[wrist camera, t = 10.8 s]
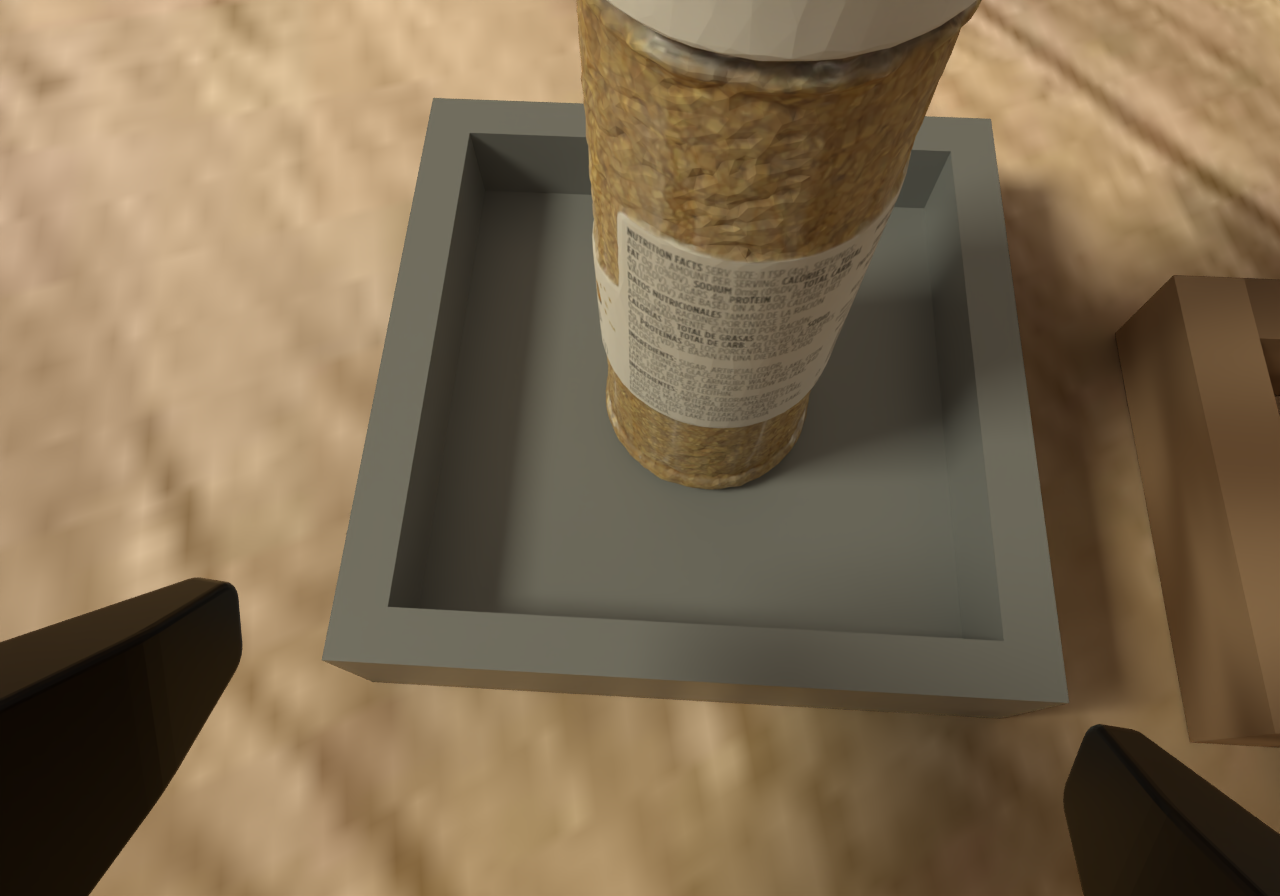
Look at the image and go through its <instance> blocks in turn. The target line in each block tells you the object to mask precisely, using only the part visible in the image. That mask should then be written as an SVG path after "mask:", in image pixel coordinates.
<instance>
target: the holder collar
mask: <svg viewBox="0 0 1280 896" xmlns="http://www.w3.org/2000/svg"><path fill="white" fill-rule="evenodd" d="M1115 336H1116V342H1117V347H1118V353H1119V358H1120V364H1121V369H1122V374H1123V380H1124V385H1125V391H1126V396H1127V402H1128V407H1129V412H1130V418H1131V423H1132V429H1133V434H1134V440H1135V445H1136V450H1137V456H1138V461H1139V467H1140V472H1141V478H1142V483H1143V489H1144V494H1145V499H1146V505H1147V510H1148V516H1149V521H1150V527H1151V532H1152V537H1153V543H1154V548H1155V554H1156V559H1157V565H1158V570H1159V576H1160V581H1161V586H1162V592H1163V597H1164V603H1165V608H1166V614H1167V619H1168V624H1169V630H1170V635H1171V641H1172V646H1173V652H1174V657H1175V662H1176V668H1177V673H1178V679H1179V684H1180V690H1181V695H1182V701H1183V706H1184V711H1185V717H1186V722H1187V728H1188V733H1189V739H1190V742H1195V743H1212V744H1229V745H1246V746H1263V747H1280V415H1279V412H1278V408H1277V404H1276V400H1275V396H1274V395H1280V280H1276V279H1252V278H1228V277H1205V276H1181V275H1173V276H1172V277H1171V278H1170V279H1169V280H1168V281H1167V282H1166V283H1165V284H1164V285H1163V286H1162V287H1161V288H1160V289H1159V290H1158V291H1157V292H1156V293H1155V294H1154V295H1153V296H1152V297H1151V298H1150V299H1149V300H1148V301H1147V302H1146V303H1145V304H1144V305H1143V306H1142V307H1141V308H1140V309H1139V310H1138V311H1137V312H1136V313H1135V314H1134V315H1133V316H1132V317H1131V318H1130V319H1129V320H1128V321H1127V322H1126V323H1125V324H1124V325H1123V326H1122V327H1121V328H1120V329H1119V330H1118V331H1117V332H1116V333H1115Z"/></svg>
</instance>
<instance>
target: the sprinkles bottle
mask: <svg viewBox="0 0 1280 896" xmlns="http://www.w3.org/2000/svg"><path fill="white" fill-rule="evenodd" d="M980 2H981V0H577V14H578V23H579V26H578V34H579V45H580V56H581V66H582V75H581V82H582V88H583V94H584V109H585V116H586V139H587V143H588V150H589V176H590V181H591V193H592V200H593V204H592V205H593V217H594V222H593V234H592V240H593V256H594V266H595V276H596V288H597V299H598V309H599V317H600V327H601V334H602V341H603V345H604V348H605V351H606V354H607V361H608V377H607V385H606V407H607V413H608V416H609V419H610V422H611V424H612V426H613V429H614V431H615V433H616V435H617V437H618V439H619V441H620V442H621V443H622V444H623V445H624V447H625V448H626V449H627V451H628V452H629V454H630V455H631V456H632V457H633V458H634V459H635V460H637V461H638V462H639V463H640V464H641V465H642V466H643V467H644V468H646V469H648V470H649V471H651V472H652V473H653V474H654V475H656V476H657V477H659V478H660V479H662V480H665V481H669V482H673V483H677V484H680V485H684V486H687V487H691V488H700V489H711V490H712V489H723V488H728V487H736V486H742V485H743V484H745V483H747V482H749V481H752V480H754V479H756V478H759V477H761V476H762V475H764V474H765V473H767V472H768V471H769V470H771V469H772V468H773V467H775V466H776V465H777V464H779V463H780V461H781V460H782V459H783V458H784V457H785V456H786V455H787V454H788V453H789V452H790V451H791V449H792V448H793V446H794V445H795V443H796V442H797V440H798V438H799V436H800V434H801V431H802V428H803V424H804V421H805V419H806V415H807V407H808V402H809V394H810V391H811V389H812V387H813V386H814V385H815V384H816V382H817V381H818V379H819V377H820V376H821V374H822V372H823V370H824V368H825V367H826V364H827V362H828V360H829V358H830V355H831V353H832V350H833V348H834V346H835V343H836V341H837V339H838V336H839V334H840V332H841V329H842V327H843V325H844V322H845V320H846V318H847V315H848V313H849V310H850V308H851V306H852V303H853V301H854V299H855V296H856V294H857V292H858V289H859V287H860V284H861V282H862V280H863V277H864V275H865V273H866V270H867V268H868V266H869V263H870V261H871V259H872V256H873V254H874V251H875V249H876V247H877V244H878V242H879V240H880V237H881V235H882V233H883V230H884V228H885V226H886V224H887V221H888V219H889V217H890V215H891V212H892V210H893V207H894V205H895V203H896V200H897V198H898V196H899V193H900V190H901V188H902V185H903V182H904V179H905V176H906V173H907V169H908V164H909V160H910V155H911V150H912V148H913V144H914V141H915V137H916V135H917V133H918V131H919V129H920V127H921V125H922V123H923V120H924V117H925V115H926V112H927V110H928V107H929V105H930V102H931V100H932V97H933V95H934V92H935V90H936V87H937V84H938V82H939V79H940V77H941V76H942V74H943V71H944V69H945V67H946V64H947V62H948V60H949V58H950V55H951V53H952V50H953V48H954V45H955V43H956V40H957V38H958V35H959V32H960V29H961V27H962V26H963V25H965V24H966V23H967V22H968V21H969V20H970V19H971V18H972V16H973V15H974V13H975V11H976V10H977V8H978V6H979V4H980Z"/></svg>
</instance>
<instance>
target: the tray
mask: <svg viewBox="0 0 1280 896" xmlns="http://www.w3.org/2000/svg"><path fill="white" fill-rule="evenodd" d="M592 204H593V200H592V193H591V181H590V176H589V150H588V143H587V139H586V116H585V109H584V104H578V103H552V102H525V101H498V100H471V99H445V98H433V102H432V107H431V112H430V117H429V122H428V127H427V132H426V137H425V142H424V147H423V152H422V157H421V162H420V167H419V172H418V177H417V182H416V187H415V192H414V197H413V202H412V208H411V213H410V218H409V223H408V228H407V233H406V238H405V243H404V248H403V253H402V258H401V263H400V268H399V273H398V278H397V283H396V288H395V293H394V298H393V303H392V308H391V313H390V318H389V324H388V329H387V334H386V339H385V344H384V349H383V354H382V359H381V364H380V369H379V374H378V379H377V384H376V389H375V394H374V399H373V404H372V409H371V414H370V419H369V424H368V429H367V435H366V440H365V445H364V450H363V455H362V460H361V465H360V470H359V475H358V480H357V485H356V490H355V495H354V500H353V505H352V510H351V515H350V520H349V525H348V530H347V535H346V540H345V545H344V551H343V556H342V561H341V566H340V571H339V576H338V581H337V586H336V591H335V596H334V601H333V606H332V611H331V616H330V621H329V626H328V631H327V636H326V641H325V646H324V651H323V656H322V660H323V661H325V662H327V663H330V664H332V665H334V666H337V667H339V668H341V669H344V670H346V671H348V672H351V673H353V674H356V675H358V676H360V677H363V678H365V679H367V680H370V681H372V682H383V683H400V684H417V685H434V686H451V687H469V688H486V689H503V690H520V691H538V692H555V693H572V694H589V695H607V696H624V697H641V698H658V699H675V700H693V701H710V702H727V703H744V704H762V705H779V706H796V707H813V708H830V709H848V710H865V711H882V712H899V713H917V714H934V715H951V716H968V717H986V718H1005V717H1010V716H1014V715H1019V714H1023V713H1027V712H1032V711H1036V710H1041V709H1045V708H1049V707H1054V706H1058V705H1063V704H1067V703H1069V698H1068V691H1067V683H1066V676H1065V668H1064V661H1063V653H1062V646H1061V638H1060V631H1059V623H1058V616H1057V608H1056V601H1055V593H1054V586H1053V579H1052V571H1051V564H1050V556H1049V549H1048V541H1047V534H1046V526H1045V519H1044V511H1043V504H1042V496H1041V489H1040V482H1039V474H1038V467H1037V459H1036V452H1035V444H1034V437H1033V429H1032V422H1031V414H1030V407H1029V399H1028V392H1027V384H1026V377H1025V370H1024V362H1023V355H1022V347H1021V340H1020V332H1019V325H1018V317H1017V310H1016V302H1015V295H1014V287H1013V280H1012V273H1011V265H1010V258H1009V250H1008V243H1007V235H1006V228H1005V220H1004V213H1003V205H1002V198H1001V190H1000V183H999V175H998V168H997V161H996V153H995V146H994V138H993V131H992V123H991V119H980V118H953V117H926V116H925V117H924V120H923V123H922V125H921V127H920V129H919V131H918V133H917V135H916V137H915V141H914V144H913V148H912V150H911V155H910V160H909V164H908V169H907V173H906V176H905V179H904V182H903V185H902V188H901V190H900V193H899V196H898V198H897V200H896V203H895V205H894V207H893V210H892V212H891V215H890V217H889V219H888V221H887V224H886V226H885V228H884V230H883V233H882V235H881V237H880V240H879V242H878V244H877V247H876V249H875V251H874V254H873V256H872V259H871V261H870V263H869V266H868V268H867V270H866V273H865V275H864V277H863V280H862V282H861V284H860V287H859V289H858V292H857V294H856V296H855V299H854V301H853V303H852V306H851V308H850V310H849V313H848V315H847V318H846V320H845V322H844V325H843V327H842V329H841V332H840V334H839V336H838V339H837V341H836V343H835V346H834V348H833V350H832V353H831V355H830V358H829V360H828V362H827V364H826V367H825V368H824V370H823V372H822V374H821V376H820V377H819V379H818V381H817V382H816V384H815V385H814V386H813V387H812V389H811V391H810V394H809V402H808V407H807V415H806V419H805V421H804V424H803V428H802V431H801V434H800V436H799V438H798V440H797V442H796V443H795V445H794V446H793V448H792V449H791V451H790V452H789V453H788V454H787V455H786V456H785V457H784V458H783V459H782V460H781V461H780V463H779V464H777V465H776V466H775V467H773V468H772V469H771V470H769V471H768V472H767V473H765V474H764V475H762V476H761V477H759V478H756V479H754V480H752V481H749V482H747V483H745V484H743V485H742V486H736V487H728V488H723V489H712V490H711V489H700V488H691V487H687V486H684V485H680V484H677V483H673V482H669V481H665V480H662V479H660V478H659V477H657V476H656V475H654V474H653V473H652V472H651V471H649V470H648V469H646V468H644V467H643V466H642V465H641V464H640V463H639V462H638V461H637V460H635V459H634V458H633V457H632V456H631V455H630V454H629V452H628V451H627V449H626V448H625V447H624V445H623V444H622V443H621V442H620V441H619V439H618V437H617V435H616V433H615V431H614V429H613V426H612V424H611V422H610V419H609V416H608V413H607V407H606V385H607V377H608V361H607V354H606V351H605V348H604V345H603V341H602V334H601V327H600V317H599V309H598V299H597V288H596V276H595V266H594V256H593V240H592V234H593V222H594V217H593V205H592Z"/></svg>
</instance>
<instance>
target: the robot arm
mask: <svg viewBox="0 0 1280 896" xmlns="http://www.w3.org/2000/svg"><path fill="white" fill-rule="evenodd" d="M241 655H242V635H241V623H240V612H239V600H238V594H237V591H236V589H235V587H234V586H233V585H232V584H230V583H229V582H224V581H218V580H212V579H206V578H191V579H187V580H184V581H181V582H178V583H176V584H173V585H170V586H167V587H164V588H161V589H158V590H155V591H152V592H149V593H146V594H143V595H140V596H137V597H134V598H131V599H128V600H125V601H122V602H119V603H116V604H113V605H110V606H107V607H104V608H101V609H98V610H95V611H92V612H89V613H86V614H83V615H80V616H77V617H74V618H71V619H68V620H65V621H62V622H59V623H56V624H53V625H50V626H48V627H45V628H42V629H39V630H36V631H33V632H30V633H27V634H24V635H21V636H18V637H15V638H12V639H9V640H6V641H3V642H0V896H89V894H90V893H91V892H92V890H93V889H94V887H95V886H96V885H97V883H98V882H99V881H100V879H101V878H102V877H103V875H104V874H105V872H106V871H107V870H108V868H109V867H110V866H111V864H112V863H113V862H114V860H115V859H116V857H117V856H118V855H119V853H120V852H121V851H122V849H123V848H124V846H125V845H126V844H127V842H128V841H129V840H130V838H131V837H132V836H133V834H134V833H135V831H136V830H137V829H138V827H139V826H140V825H141V823H142V822H143V820H144V819H145V818H146V816H147V815H148V814H149V812H150V811H151V809H152V808H153V807H154V805H155V804H156V802H157V801H158V799H159V798H160V797H161V795H162V794H163V792H164V791H165V789H166V788H167V786H168V784H169V783H170V781H171V780H172V778H173V776H174V775H175V773H176V772H177V770H178V768H179V767H180V765H181V763H182V762H183V760H184V758H185V756H186V755H187V753H188V751H189V750H190V748H191V746H192V745H193V743H194V741H195V739H196V738H197V736H198V734H199V733H200V731H201V729H202V727H203V726H204V724H205V722H206V721H207V719H208V717H209V716H210V714H211V712H212V710H213V709H214V707H215V705H216V704H217V702H218V700H219V699H220V697H221V695H222V693H223V692H224V690H225V688H226V687H227V685H228V683H229V682H230V680H231V678H232V676H233V675H234V673H235V671H236V669H237V667H238V665H239V662H240V659H241ZM1063 802H1064V811H1065V816H1066V820H1067V825H1068V829H1069V833H1070V838H1071V842H1072V847H1073V851H1074V855H1075V860H1076V864H1077V868H1078V873H1079V877H1080V881H1081V886H1082V890H1083V895H1084V896H1280V834H1278V833H1277V832H1276V831H1274V830H1273V829H1271V828H1270V827H1269V826H1267V825H1266V824H1265V823H1263V822H1262V821H1261V820H1259V819H1258V818H1256V817H1255V816H1254V815H1252V814H1251V813H1250V812H1248V811H1247V810H1245V809H1244V808H1243V807H1241V806H1240V805H1239V804H1237V803H1236V802H1235V801H1233V800H1232V799H1230V798H1229V797H1228V796H1226V795H1225V794H1224V793H1222V792H1221V791H1220V790H1218V789H1217V788H1215V787H1214V786H1213V785H1211V784H1210V783H1209V782H1207V781H1206V780H1204V779H1203V778H1202V777H1200V776H1199V775H1198V774H1196V773H1195V772H1194V771H1192V770H1191V769H1189V768H1188V767H1187V766H1185V765H1184V764H1183V763H1181V762H1180V761H1179V760H1177V759H1176V758H1174V757H1173V756H1172V755H1170V754H1169V753H1168V752H1166V751H1165V750H1163V749H1162V748H1161V747H1159V746H1158V745H1157V744H1155V743H1154V742H1153V741H1151V740H1150V739H1148V738H1147V737H1146V736H1144V735H1143V734H1141V733H1140V732H1138V731H1135V730H1132V729H1127V728H1120V727H1114V726H1108V725H1102V724H1097V725H1095V726H1092V727H1090V729H1089V730H1088V731H1087V732H1086V734H1085V736H1084V738H1083V741H1082V743H1081V746H1080V749H1079V751H1078V754H1077V756H1076V759H1075V761H1074V764H1073V766H1072V769H1071V772H1070V774H1069V777H1068V779H1067V782H1066V785H1065V789H1064V798H1063Z"/></svg>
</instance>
